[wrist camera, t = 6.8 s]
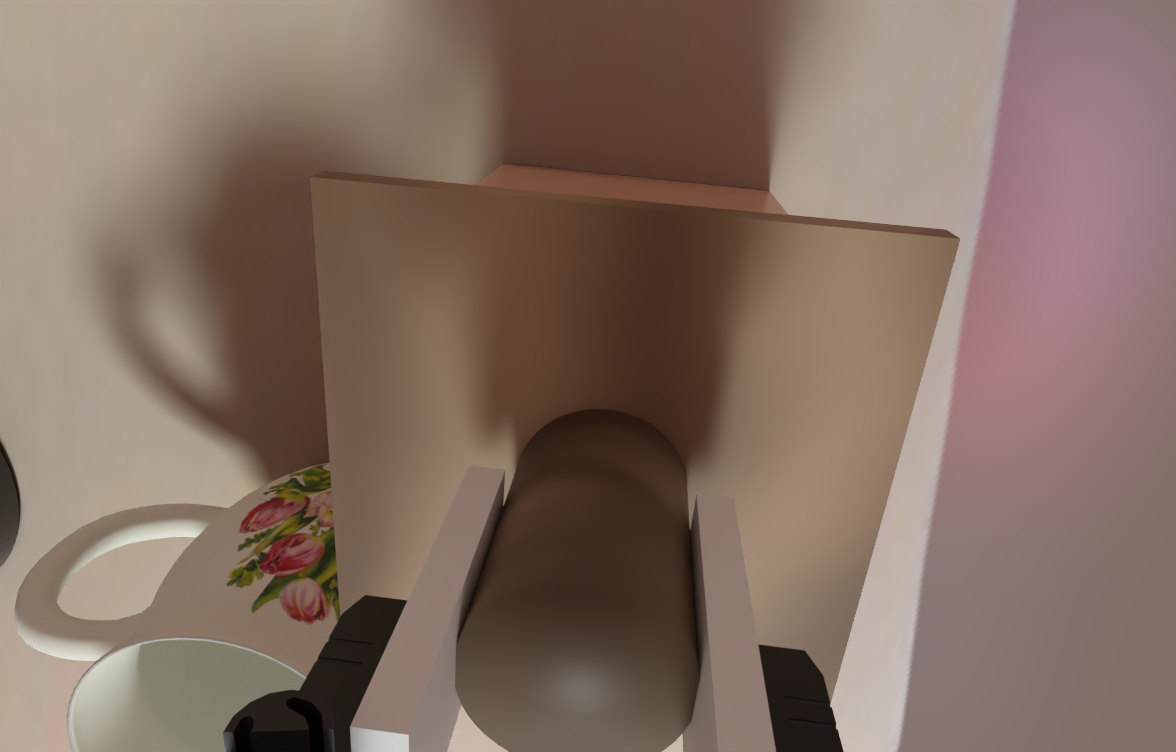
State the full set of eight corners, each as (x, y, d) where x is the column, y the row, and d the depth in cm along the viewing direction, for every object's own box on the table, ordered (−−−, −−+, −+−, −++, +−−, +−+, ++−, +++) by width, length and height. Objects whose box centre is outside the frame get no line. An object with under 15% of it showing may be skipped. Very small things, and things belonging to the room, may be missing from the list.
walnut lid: (354, 641, 21) (229, 886, 15) (325, 171, 16) (115, 247, 10) (818, 699, 21) (887, 979, 14) (945, 229, 15) (1138, 351, 9)
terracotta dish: (494, 401, 33) (467, 458, 28) (504, 163, 29) (475, 185, 24) (725, 428, 32) (737, 490, 28) (769, 191, 28) (791, 218, 24)
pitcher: (176, 356, 33) (-119, 545, 20) (567, 483, 34) (515, 739, 21) (156, 549, 37) (-97, 802, 25) (503, 657, 38) (428, 954, 26)
